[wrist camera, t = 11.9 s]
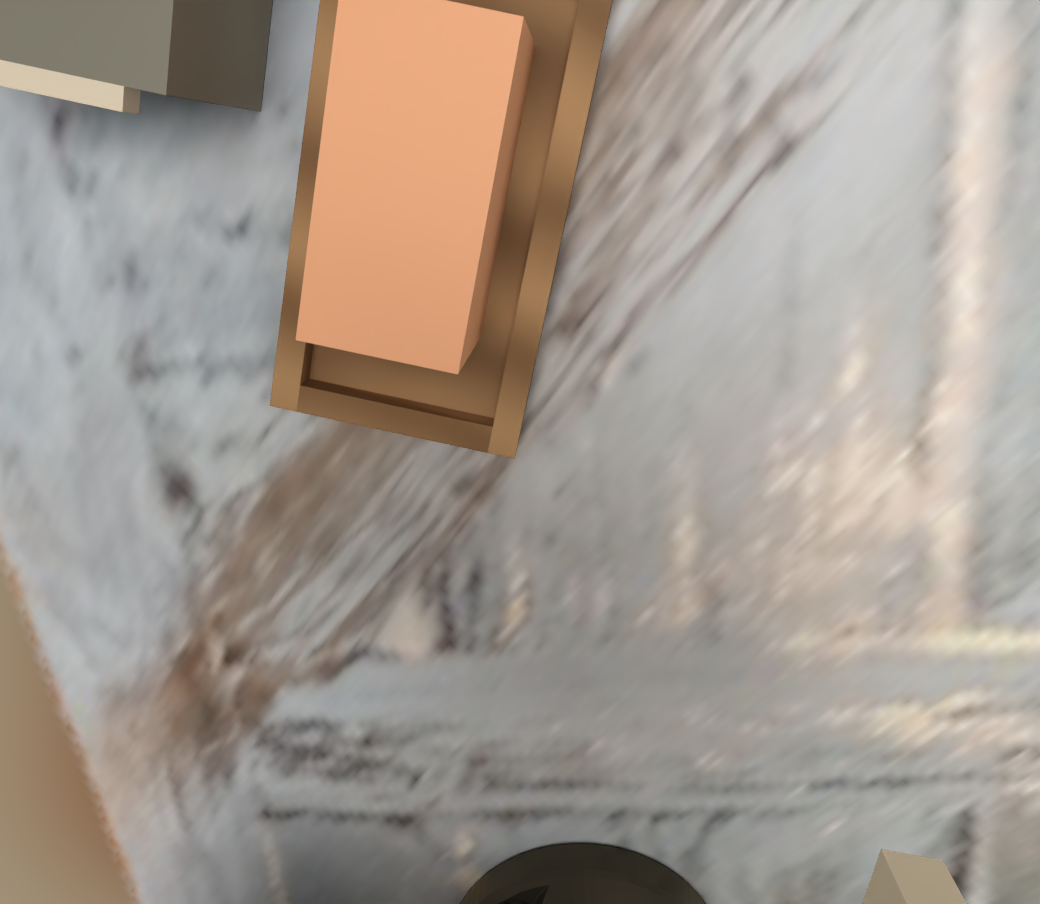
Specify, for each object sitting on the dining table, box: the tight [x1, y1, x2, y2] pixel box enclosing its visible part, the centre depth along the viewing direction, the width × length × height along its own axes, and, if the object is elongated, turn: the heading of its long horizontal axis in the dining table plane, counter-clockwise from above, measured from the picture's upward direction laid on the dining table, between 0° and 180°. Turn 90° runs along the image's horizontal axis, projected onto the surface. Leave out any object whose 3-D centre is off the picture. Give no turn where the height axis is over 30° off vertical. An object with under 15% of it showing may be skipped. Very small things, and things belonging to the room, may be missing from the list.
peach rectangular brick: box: [296, 0, 535, 374], centre depth 35 cm, size 12×6×8 cm, turn 169°
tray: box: [270, 0, 612, 458], centre depth 38 cm, size 20×11×2 cm, turn 168°
